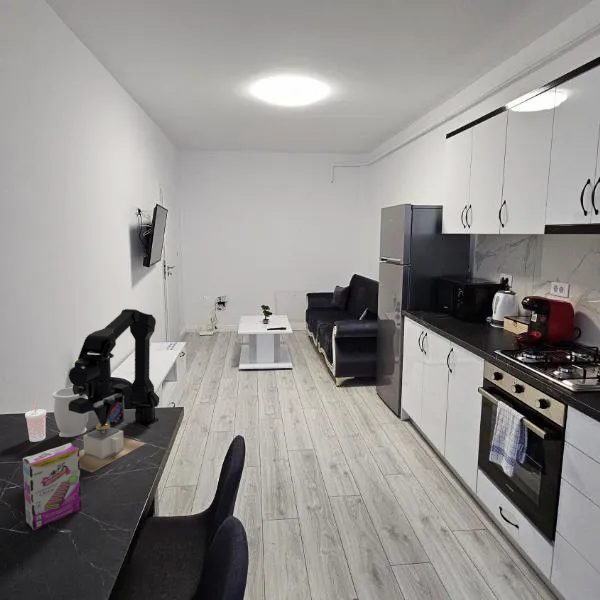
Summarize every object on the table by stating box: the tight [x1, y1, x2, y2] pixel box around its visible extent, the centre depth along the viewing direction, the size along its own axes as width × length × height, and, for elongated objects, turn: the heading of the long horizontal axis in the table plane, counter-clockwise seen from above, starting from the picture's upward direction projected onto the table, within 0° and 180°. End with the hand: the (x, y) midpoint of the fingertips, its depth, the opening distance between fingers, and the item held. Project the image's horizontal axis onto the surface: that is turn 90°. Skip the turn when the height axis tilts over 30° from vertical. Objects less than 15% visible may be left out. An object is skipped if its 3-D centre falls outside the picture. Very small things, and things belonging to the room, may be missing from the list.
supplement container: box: [107, 393, 125, 426], centre depth 162 cm, size 7×7×10 cm
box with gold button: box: [82, 426, 124, 460], centre depth 138 cm, size 8×10×7 cm
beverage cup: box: [24, 397, 47, 443], centre depth 148 cm, size 6×6×14 cm
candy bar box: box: [22, 442, 82, 531], centre depth 108 cm, size 11×5×16 cm, turn 141°
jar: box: [52, 386, 90, 438], centre depth 152 cm, size 11×10×15 cm
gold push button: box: [95, 422, 111, 433], centre depth 139 cm, size 5×5×7 cm
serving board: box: [79, 436, 146, 473], centre depth 139 cm, size 20×14×1 cm
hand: (103, 424), depth 138 cm, fingers closed, pressing on gold push button
